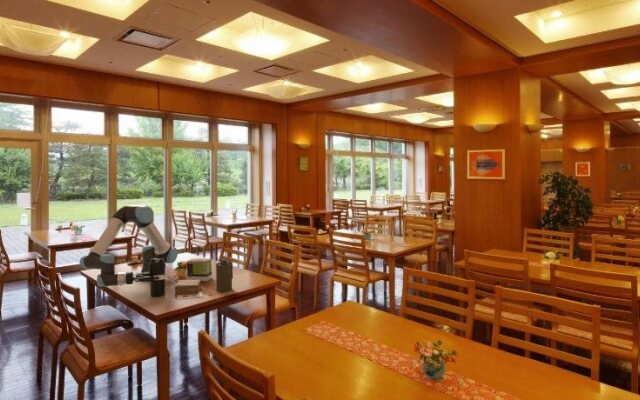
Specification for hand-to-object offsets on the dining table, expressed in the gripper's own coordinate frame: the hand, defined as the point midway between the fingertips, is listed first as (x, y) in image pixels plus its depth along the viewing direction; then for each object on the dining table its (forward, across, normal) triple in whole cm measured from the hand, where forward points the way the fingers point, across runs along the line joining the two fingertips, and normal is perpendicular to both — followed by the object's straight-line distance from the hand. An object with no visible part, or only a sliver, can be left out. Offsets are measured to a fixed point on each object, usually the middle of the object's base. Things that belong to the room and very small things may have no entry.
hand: (165, 275), depth 252 cm
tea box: (+23, -28, -13) cm, 38 cm away
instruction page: (+14, +8, -12) cm, 21 cm away
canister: (+37, +3, -13) cm, 39 cm away
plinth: (+14, 0, -12) cm, 18 cm away
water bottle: (-5, 0, -12) cm, 13 cm away
